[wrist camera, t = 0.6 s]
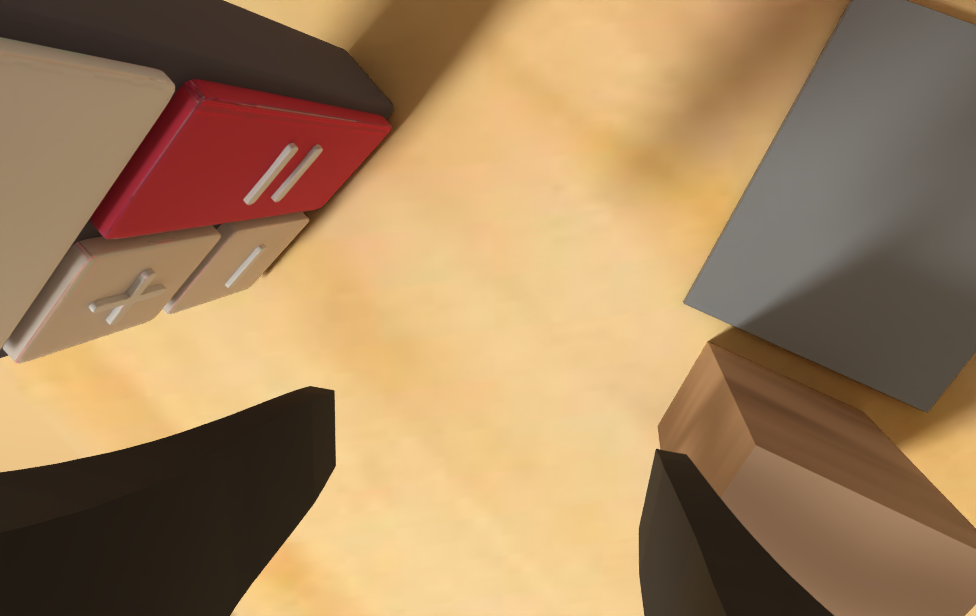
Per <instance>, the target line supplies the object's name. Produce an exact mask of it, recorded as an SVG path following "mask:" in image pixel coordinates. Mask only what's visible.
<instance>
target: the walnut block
mask: <svg viewBox="0 0 976 616" xmlns="http://www.w3.org/2000/svg"><path fill="white" fill-rule="evenodd" d="M658 432H659V441H660V449H661V450H665V451H671V452H676V453H682V454H687V455H688V457H689V458H690V459H691V460H692V462H693V463H694V464H695V466H696V467H697V468H698V470H699V471H700V472H701V474H702V475H703V476H704V478H705V479H706V480H707V481H708V483H709V484H710V485H711V487H712V488H713V489H714V490H715V492H716V493H717V494H718V495H719V497H720V498H721V499H722V500H723V502H724V503H725V504H726V505H727V507H728V508H729V509H730V510H731V511H732V513H733V514H734V515H735V516H736V517H737V519H738V520H739V521H740V522H741V523H742V525H743V526H744V527H745V528H746V529H747V530H748V531H749V532H750V534H751V535H752V536H753V537H754V538H755V539H756V540H757V541H758V542H759V543H760V545H761V546H762V547H763V548H764V549H765V550H766V551H767V552H768V553H769V554H770V555H771V556H772V557H773V558H774V559H775V561H776V562H777V563H778V564H779V565H780V566H781V567H782V568H783V569H784V570H785V571H786V572H787V573H788V574H789V575H790V576H791V577H793V578H794V579H795V580H796V581H797V582H798V583H799V584H800V585H801V586H802V587H803V588H804V589H805V590H807V591H808V592H809V593H810V594H811V595H812V596H813V597H814V598H815V599H816V600H817V601H818V602H820V603H821V604H822V605H823V606H824V607H825V608H826V609H827V610H829V611H830V612H831V613H832V614H833V615H834V616H965V615H966V614H967V613H968V612H969V611H970V610H971V609H972V608H973V607H974V605H975V604H976V528H975V527H974V526H973V525H972V524H971V523H970V522H969V521H968V520H967V519H966V518H965V517H964V516H963V515H962V514H961V513H960V512H959V511H958V510H957V509H956V508H955V507H954V506H953V504H952V503H951V502H950V501H949V500H948V499H947V498H946V497H945V496H944V495H943V494H942V493H941V492H940V491H939V490H938V489H937V488H936V487H935V486H934V485H933V484H932V483H931V482H930V481H929V480H928V479H927V477H926V476H925V475H924V474H923V473H922V472H921V471H920V470H919V469H918V468H917V467H916V466H915V465H914V464H913V463H912V462H911V461H910V460H909V459H908V458H907V457H906V456H905V455H904V454H903V453H902V452H901V450H900V449H899V448H898V447H897V446H896V445H895V444H894V443H893V442H892V441H891V440H890V439H889V438H888V437H887V436H886V435H885V434H884V433H883V432H882V431H881V430H880V429H879V428H878V427H877V426H876V425H875V423H874V422H873V421H872V420H871V419H870V418H869V417H868V416H867V415H866V414H865V413H864V412H862V411H860V410H857V409H855V408H853V407H851V406H849V405H846V404H844V403H842V402H840V401H838V400H835V399H833V398H831V397H829V396H827V395H824V394H822V393H820V392H818V391H816V390H813V389H811V388H809V387H807V386H805V385H802V384H800V383H798V382H796V381H794V380H791V379H789V378H787V377H785V376H783V375H780V374H778V373H776V372H774V371H772V370H769V369H767V368H765V367H763V366H761V365H758V364H756V363H754V362H752V361H750V360H747V359H745V358H743V357H741V356H739V355H736V354H734V353H732V352H730V351H728V350H725V349H723V348H721V347H719V346H717V345H714V344H712V343H710V342H707V343H706V345H705V347H704V348H703V350H702V352H701V354H700V355H699V357H698V359H697V360H696V362H695V364H694V365H693V367H692V369H691V370H690V372H689V374H688V376H687V377H686V379H685V381H684V382H683V384H682V386H681V387H680V389H679V391H678V393H677V394H676V396H675V398H674V399H673V401H672V403H671V404H670V406H669V408H668V409H667V411H666V413H665V415H664V416H663V418H662V420H661V421H660V423H659V425H658Z"/></svg>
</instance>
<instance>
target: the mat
mask: <svg viewBox="0 0 976 616" xmlns="http://www.w3.org/2000/svg"><path fill="white" fill-rule="evenodd" d="M683 303H684V304H686V305H688V306H690V307H692V308H695V309H697V310H699V311H701V312H704V313H706V314H708V315H710V316H712V317H715V318H717V319H719V320H721V321H724V322H726V323H728V324H730V325H733V326H735V327H737V328H739V329H741V330H744V331H746V332H748V333H750V334H753V335H755V336H757V337H759V338H762V339H764V340H766V341H768V342H770V343H773V344H775V345H777V346H779V347H782V348H784V349H786V350H788V351H791V352H793V353H795V354H797V355H800V356H802V357H804V358H806V359H808V360H811V361H813V362H815V363H817V364H820V365H822V366H824V367H826V368H829V369H831V370H833V371H835V372H837V373H840V374H842V375H844V376H846V377H849V378H851V379H853V380H855V381H858V382H860V383H862V384H864V385H866V386H869V387H871V388H873V389H875V390H878V391H880V392H882V393H884V394H887V395H889V396H891V397H893V398H895V399H898V400H900V401H902V402H904V403H907V404H909V405H911V406H913V407H916V408H918V409H920V410H922V411H925V412H927V413H928V411H929V410H930V409H931V408H932V406H933V405H934V404H935V403H936V401H937V400H938V399H939V397H940V396H941V395H942V394H943V392H944V391H945V390H946V389H947V387H948V386H949V385H950V384H951V382H952V381H953V380H954V378H955V377H956V376H957V375H958V373H959V372H960V371H961V370H962V368H963V367H964V366H965V364H966V363H967V362H968V361H969V359H970V358H971V357H972V356H973V354H974V353H975V352H976V25H974V24H971V23H969V22H966V21H963V20H960V19H957V18H955V17H952V16H949V15H946V14H943V13H941V12H938V11H935V10H932V9H929V8H927V7H924V6H921V5H918V4H915V3H913V2H910V1H907V0H851V1H850V3H849V4H848V6H847V8H846V10H845V12H844V13H843V15H842V17H841V19H840V21H839V22H838V24H837V26H836V28H835V30H834V31H833V33H832V35H831V37H830V39H829V40H828V42H827V44H826V46H825V48H824V49H823V51H822V53H821V55H820V57H819V58H818V60H817V62H816V64H815V66H814V67H813V69H812V71H811V73H810V75H809V76H808V78H807V80H806V82H805V84H804V85H803V87H802V89H801V91H800V93H799V94H798V96H797V98H796V100H795V102H794V103H793V105H792V107H791V109H790V111H789V112H788V114H787V116H786V118H785V119H784V121H783V123H782V125H781V127H780V128H779V130H778V132H777V134H776V136H775V137H774V139H773V141H772V143H771V145H770V146H769V148H768V150H767V152H766V154H765V155H764V157H763V159H762V161H761V163H760V164H759V166H758V168H757V170H756V172H755V173H754V175H753V177H752V179H751V181H750V182H749V184H748V186H747V188H746V190H745V191H744V193H743V195H742V197H741V199H740V200H739V202H738V204H737V206H736V208H735V209H734V211H733V213H732V215H731V217H730V218H729V220H728V222H727V224H726V226H725V227H724V229H723V231H722V233H721V235H720V236H719V238H718V240H717V242H716V244H715V245H714V247H713V249H712V251H711V253H710V254H709V256H708V258H707V260H706V262H705V263H704V265H703V267H702V269H701V271H700V272H699V274H698V276H697V278H696V280H695V281H694V283H693V285H692V287H691V289H690V290H689V292H688V294H687V296H686V298H685V299H684V301H683Z"/></svg>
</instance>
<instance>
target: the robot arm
mask: <svg viewBox="0 0 976 616" xmlns="http://www.w3.org/2000/svg"><path fill="white" fill-rule="evenodd" d="M335 466H336V450H335V395H334V390H329V389H323V388H318V387H312V386H309V387H305V388H301V389H298V390H295V391H292V392H290V393H287V394H284V395H281V396H279V397H276V398H274V399H271V400H268V401H266V402H263V403H261V404H258V405H256V406H253V407H250V408H248V409H245V410H243V411H240V412H237V413H235V414H232V415H230V416H227V417H224V418H221V419H219V420H216V421H213V422H210V423H207V424H204V425H201V426H199V427H196V428H193V429H190V430H187V431H184V432H181V433H178V434H175V435H172V436H169V437H166V438H162V439H159V440H156V441H152V442H149V443H145V444H141V445H137V446H134V447H130V448H126V449H122V450H118V451H114V452H110V453H105V454H100V455H96V456H91V457H86V458H81V459H77V460H72V461H68V462H62V463H58V464H53V465H46V466H40V467H34V468H28V469H22V470H15V471H7V472H0V616H230V615H231V613H232V612H233V610H234V608H235V607H236V605H237V604H238V602H239V601H240V600H241V598H242V597H243V595H244V594H245V593H246V591H247V590H248V588H249V587H250V586H251V584H252V583H253V582H254V580H255V579H256V578H257V577H258V575H259V574H260V573H261V571H262V570H263V569H264V568H265V566H266V565H267V564H268V563H269V561H270V560H271V559H272V557H273V556H274V555H275V554H276V552H277V551H278V550H279V548H280V547H281V546H282V545H283V543H284V542H285V541H286V539H287V538H288V537H289V536H290V534H291V533H292V532H293V531H294V529H295V528H296V527H297V525H298V524H299V523H300V521H301V520H302V519H303V517H304V516H305V515H306V514H307V512H308V511H309V510H310V508H311V507H312V505H313V504H314V503H315V501H316V500H317V498H318V496H319V494H320V493H321V491H322V489H323V488H324V486H325V484H326V483H327V481H328V479H329V477H330V475H331V473H332V472H333V470H334V468H335ZM639 576H640V584H641V592H642V600H643V608H644V615H645V616H834V615H833V614H832V613H831V612H830V611H829V610H827V609H826V608H825V607H824V606H823V605H822V604H821V603H820V602H818V601H817V600H816V599H815V598H814V597H813V596H812V595H811V594H810V593H809V592H808V591H807V590H805V589H804V588H803V587H802V586H801V585H800V584H799V583H798V582H797V581H796V580H795V579H794V578H793V577H791V576H790V575H789V574H788V573H787V572H786V571H785V570H784V569H783V568H782V567H781V566H780V565H779V564H778V563H777V562H776V561H775V559H774V558H773V557H772V556H771V555H770V554H769V553H768V552H767V551H766V550H765V549H764V548H763V547H762V546H761V545H760V543H759V542H758V541H757V540H756V539H755V538H754V537H753V536H752V535H751V534H750V532H749V531H748V530H747V529H746V528H745V527H744V526H743V525H742V523H741V522H740V521H739V520H738V519H737V517H736V516H735V515H734V514H733V513H732V511H731V510H730V509H729V508H728V507H727V505H726V504H725V503H724V502H723V500H722V499H721V498H720V497H719V495H718V494H717V493H716V492H715V490H714V489H713V488H712V487H711V485H710V484H709V483H708V481H707V480H706V479H705V478H704V476H703V475H702V474H701V472H700V471H699V470H698V468H697V467H696V466H695V464H694V463H693V462H692V460H691V459H690V458H689V457H688V455H687V454H682V453H676V452H671V451H665V450H660V449H656V451H655V456H654V461H653V465H652V470H651V475H650V479H649V484H648V489H647V493H646V498H645V503H644V507H643V512H642V516H641V521H640V526H639Z"/></svg>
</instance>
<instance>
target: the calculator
mask: <svg viewBox="0 0 976 616" xmlns="http://www.w3.org/2000/svg"><path fill="white" fill-rule="evenodd" d="M393 109H394V107H393V104H392V103H391V102H390V101H389V100H388V98H387V97H386V96H385V95H384V94H383V93H382V91H381V90H380V89H379V88H378V87H377V86H376V85H375V83H374V82H373V81H372V80H371V79H370V78H369V76H368V75H367V74H366V73H365V72H364V71H363V69H362V68H361V67H360V66H359V65H358V64H357V63H356V61H355V60H354V59H353V58H352V57H351V56H350V55H349V54H348V52H347V51H346V50H344V49H342V48H339V47H337V46H334V45H332V44H330V43H327V42H325V41H322V40H320V39H317V38H315V37H312V36H310V35H307V34H305V33H302V32H300V31H298V30H295V29H293V28H290V27H288V26H285V25H283V24H280V23H278V22H275V21H273V20H270V19H268V18H265V17H263V16H261V15H258V14H256V13H253V12H251V11H248V10H246V9H243V8H241V7H238V6H236V5H233V4H231V3H229V2H226V1H224V0H0V358H2V357H5V356H8V355H9V356H10V357H11V358H12V360H13V361H14V362H15V363H23V362H27V361H30V360H33V359H36V358H39V357H42V356H45V355H48V354H51V353H54V352H57V351H60V350H63V349H67V348H70V347H73V346H76V345H79V344H82V343H85V342H88V341H91V340H94V339H97V338H100V337H103V336H106V335H109V334H112V333H115V332H118V331H121V330H124V329H127V328H130V327H133V326H136V325H139V324H142V323H145V322H148V321H150V320H152V319H153V318H155V317H156V316H157V315H158V313H159V312H160V311H161V310H162V309H163V310H164V311H165V312H166V313H167V314H172V313H176V312H179V311H182V310H185V309H188V308H191V307H194V306H197V305H200V304H203V303H206V302H209V301H212V300H215V299H218V298H221V297H224V296H227V295H230V294H233V293H236V292H239V291H242V290H245V289H247V288H249V287H250V286H251V285H252V284H254V283H255V281H256V280H257V279H258V278H259V277H260V276H261V275H262V274H263V272H264V271H265V270H266V269H267V268H268V267H269V266H270V265H271V264H272V262H273V261H274V260H275V259H276V258H277V257H278V256H279V255H280V254H281V252H282V251H283V250H284V249H285V248H286V247H287V246H288V245H289V244H290V242H291V241H292V240H293V239H294V238H295V237H296V236H297V235H298V233H299V232H300V231H301V230H302V229H303V228H304V227H305V226H306V224H307V223H308V222H309V218H308V217H307V216H306V215H305V214H304V213H305V211H310V210H316V209H319V208H321V207H322V206H323V205H324V204H325V203H326V202H327V201H328V200H329V199H330V198H331V197H332V196H333V194H334V193H335V192H336V191H337V190H338V189H339V188H340V187H341V186H342V184H343V183H344V182H345V181H346V180H347V179H348V178H349V177H350V176H351V174H352V173H353V172H354V171H355V170H356V169H357V168H358V167H359V166H360V164H361V163H362V162H363V161H364V160H365V159H366V158H367V157H368V155H369V154H370V153H371V152H372V151H373V150H374V149H375V148H376V147H377V145H378V144H379V143H380V142H381V141H382V140H383V139H384V138H385V137H386V135H387V134H388V133H389V132H390V130H391V128H392V127H391V125H390V124H389V123H388V122H387V121H386V120H387V119H388V118H389V116H390V115H391V114H392V112H393Z"/></svg>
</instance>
